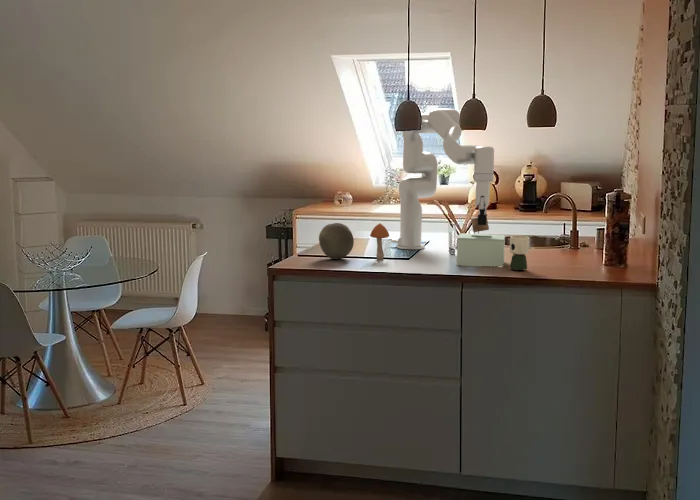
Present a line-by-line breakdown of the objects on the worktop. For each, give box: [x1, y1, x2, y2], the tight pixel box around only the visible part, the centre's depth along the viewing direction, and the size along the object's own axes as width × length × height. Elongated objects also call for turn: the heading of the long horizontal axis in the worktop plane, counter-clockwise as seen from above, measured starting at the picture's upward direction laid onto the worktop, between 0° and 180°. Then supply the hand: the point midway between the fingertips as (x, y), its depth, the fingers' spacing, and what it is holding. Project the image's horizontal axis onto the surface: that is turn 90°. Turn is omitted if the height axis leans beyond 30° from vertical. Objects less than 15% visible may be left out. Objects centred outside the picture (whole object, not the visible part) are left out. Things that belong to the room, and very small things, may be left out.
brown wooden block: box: [470, 214, 490, 233], centre depth 319 cm, size 6×3×6 cm, turn 77°
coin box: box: [456, 232, 506, 268], centre depth 321 cm, size 18×13×11 cm
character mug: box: [509, 235, 530, 271], centre depth 307 cm, size 11×7×13 cm, turn 178°
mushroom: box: [369, 223, 390, 261], centre depth 328 cm, size 8×8×15 cm
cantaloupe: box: [318, 222, 355, 260], centre depth 327 cm, size 14×14×15 cm
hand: (482, 223), depth 319 cm, fingers closed on brown wooden block, 2 cm apart
